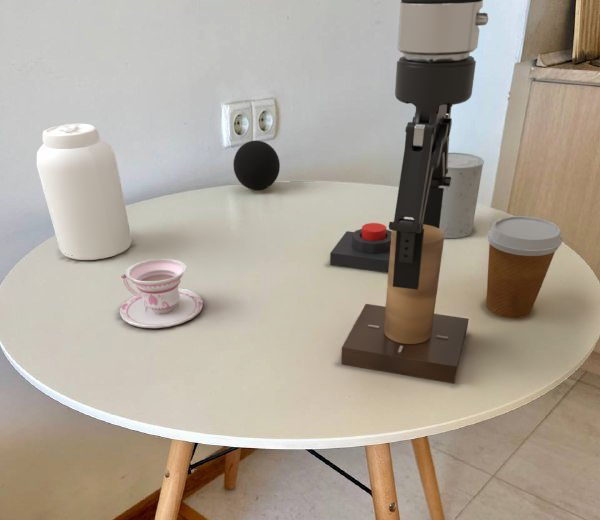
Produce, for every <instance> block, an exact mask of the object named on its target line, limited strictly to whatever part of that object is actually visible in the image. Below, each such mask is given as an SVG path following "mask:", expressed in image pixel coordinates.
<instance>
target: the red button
mask: <svg viewBox="0 0 600 520" xmlns="http://www.w3.org/2000/svg"><path fill="white" fill-rule="evenodd" d="M361 229H362V238H363V239H366V240H373V241H376V240H383V239H385V238H386V229H387V225H385V224H382V223H379V222H378V223H377V222H368V223H364V224H363V225H362V226H361Z"/></svg>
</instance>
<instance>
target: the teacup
mask: <svg viewBox="0 0 600 520" xmlns="http://www.w3.org/2000/svg"><path fill="white" fill-rule="evenodd" d="M186 271H187V265H186V264H185V263H184V262H182V261H181V260H177V259H172V258H152V259H151V258H150V259H147V260H142V261H137V262H136V263H134V264H132V265H130V266H129V267H128V268H126V270H125V273H124V274H123V275H121V276H120V277H121V279H123V285H124V287H126V289H127V290H128V291H129V292H130V293H131V294H132V296H131V297H129V298H128V299H126V300H125V301H123V303H122V304H121V306H120V309H119V315H120V317H121V318H122V320H123V321H124V322H126V323H127V324H129V325H130V326H135V327H138V328H142V329H143V328H144V329H160V328H161V329H162V328H170V327H173V326H177V325H182V324H184V323H185V322H188V321H190V320H193V318H195V317H196V316H198V315H199V314H200V313H201V311H202V309H203V308H204V304H203V303H204V301H203V298H202V297H201V296H200V295H199V294H198V293H197V292H195V291H193V290H189V289H187V288H182V287H179V286H180V283H181V279H182V278H183V276H184V274H185V272H186ZM128 280H130V281H131V282H132V284H135V286H136V288H137V290H139V291H140V292H137V291H136V290H135V289H134V288H132V286H131V285H130V284H129V281H128Z"/></svg>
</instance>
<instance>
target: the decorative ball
mask: <svg viewBox="0 0 600 520" xmlns="http://www.w3.org/2000/svg"><path fill="white" fill-rule="evenodd" d="M232 163H233V164H232V165H233V171H234V174H235V178H236V179H237V181H238V182H239V183H240V184H241V185H242V186H243V187H245V188H247V189H249V190H251V191H262V190H265V189H267V188H270V187H271V186H272V185H273V184H274V183H275V181H277V179H278V178H279V177H278V176H279V174H280V169H281V163H280V158H279V155H278V154H277V152H276V150H275V149H274V148H273V146H271V145H270V144H268V142H265V141H263V140H251V141H246V142H245V143H244V144H242V145H241V146H240V147H239V148H238V149H237V151H236V153H235V155H234V158H233V162H232Z"/></svg>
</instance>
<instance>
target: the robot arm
mask: <svg viewBox="0 0 600 520" xmlns="http://www.w3.org/2000/svg"><path fill="white" fill-rule="evenodd" d="M483 5H484V0H400V2H399V13H398V14H399V15H398V29H397V30H398V31H397V45H396V48H397V50H398V51H399V52H400V53H402V56H400V58H399V59H398V60H397V61H396V72H395V88H394V96H395V98H396V100H398V101H399V102H400V103H403V104H406V105H407V104H409V105H410V104H412V105H413V106H414V107H415V112H414V116H412V121H409V122H407V123H406V126H405V130H404V131H405V141H404V150H403V157H402V164H401V171H400V178H399V183H398V191H397V198H396V204H395V211H394V212H395V213H394V217H393V221H389V223H388V230H389V231H392V230H393V231H397V233H396V247H395V261H394V275H393V287H400V288H408V289H416V290H417V289H418V287H419V277H420V267H421V257H422V247H423V237H424V229H423V224H424V225H430V226H434V227H437V228H439V226H440V217H441V209H442V200H443V191H444V188H439V187H440V186H448V187H450V183H451V177H445V176H446V174H447V173H448V168H447V167H448V153H449V149H450V148H449V146H450V134H451V130H452V124H453V119H452V117H451V115H452V107H453V106H455V105H459V104H463V103H466V102H468V100H470V98H471V97H472V94H473V88H474V79H475V72H476V65H477V61H476V60H475V58H474V56H472V55H470V53H473V52H474V51H475V50H476V49H477V48H478V46H479V36H480V28H479V26H486V25H487V24H488V23H489V14H488V13H486V12H480V11H481V9H482V8H483Z"/></svg>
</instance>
